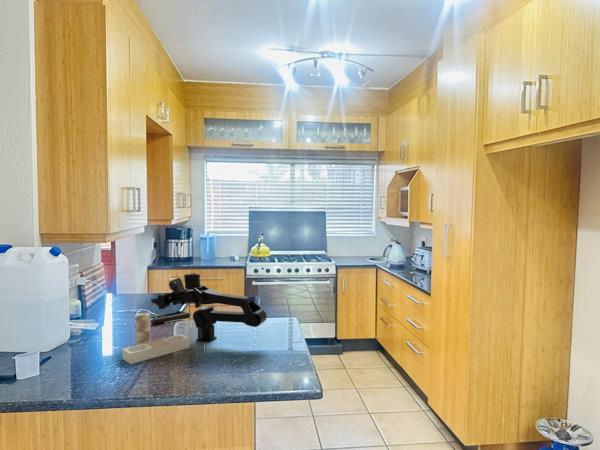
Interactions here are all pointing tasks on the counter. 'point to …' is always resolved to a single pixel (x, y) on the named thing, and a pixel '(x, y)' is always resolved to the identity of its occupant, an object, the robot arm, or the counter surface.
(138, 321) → the tan carved block
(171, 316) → the door handle
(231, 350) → the counter surface
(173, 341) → the rack
